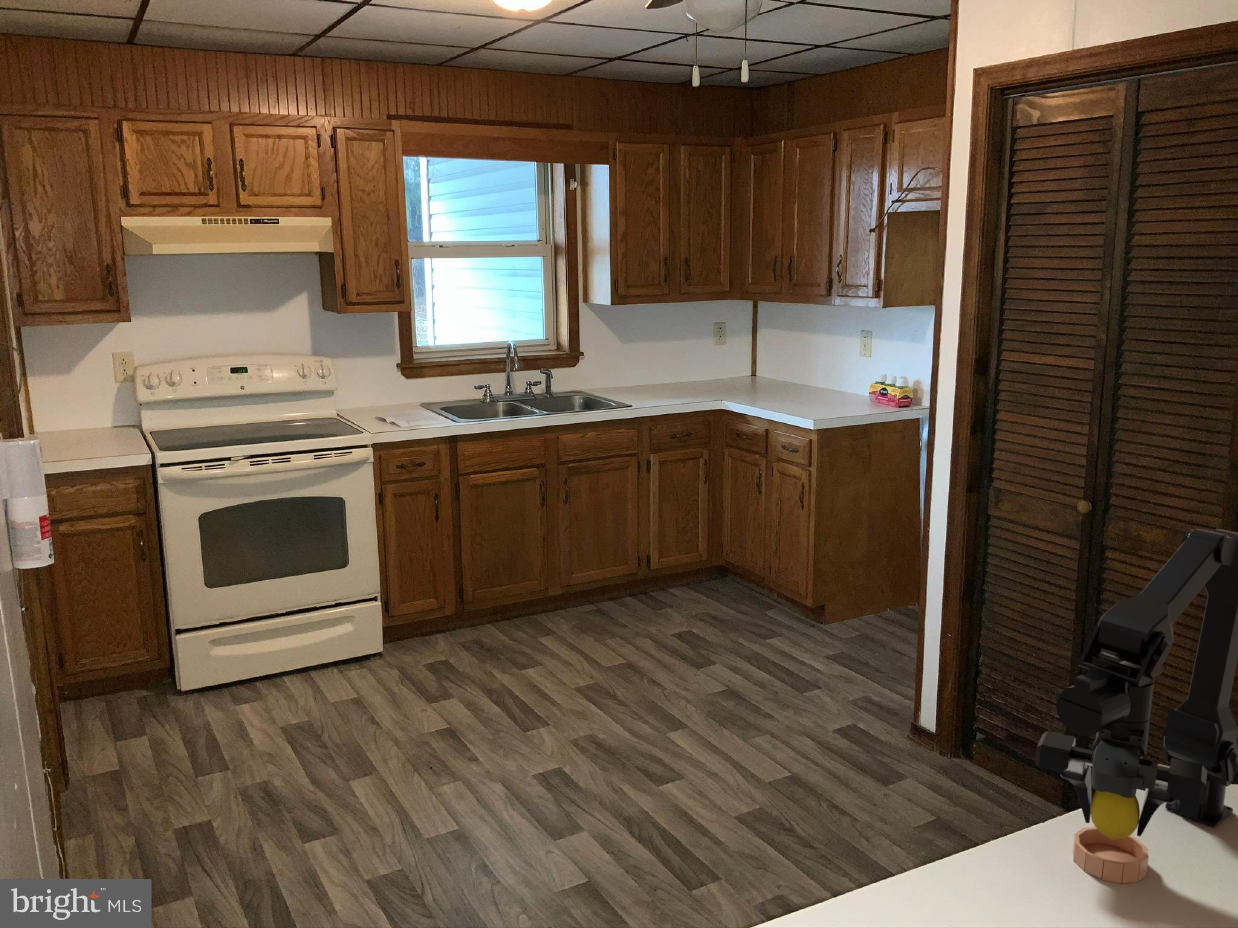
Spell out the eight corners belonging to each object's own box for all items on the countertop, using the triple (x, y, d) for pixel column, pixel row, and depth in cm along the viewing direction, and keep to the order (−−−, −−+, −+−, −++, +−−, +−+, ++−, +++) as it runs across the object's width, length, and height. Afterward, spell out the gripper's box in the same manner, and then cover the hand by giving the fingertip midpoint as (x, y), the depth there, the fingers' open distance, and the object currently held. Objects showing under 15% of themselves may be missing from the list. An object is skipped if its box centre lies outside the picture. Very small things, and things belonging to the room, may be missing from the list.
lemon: (1142, 854, 123) (1148, 795, 122) (1094, 849, 125) (1099, 790, 123) (1129, 829, 129) (1135, 772, 127) (1083, 825, 130) (1088, 768, 128)
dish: (1092, 837, 133) (1094, 819, 132) (1157, 865, 127) (1159, 847, 126) (1060, 859, 128) (1062, 842, 127) (1126, 890, 122) (1128, 872, 121)
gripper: (1032, 720, 121) (1022, 837, 124) (1210, 758, 112) (1195, 884, 115) (1047, 687, 131) (1038, 797, 134) (1212, 720, 121) (1199, 837, 124)
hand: (1113, 827), depth 126 cm, fingers closed on lemon, 5 cm apart
